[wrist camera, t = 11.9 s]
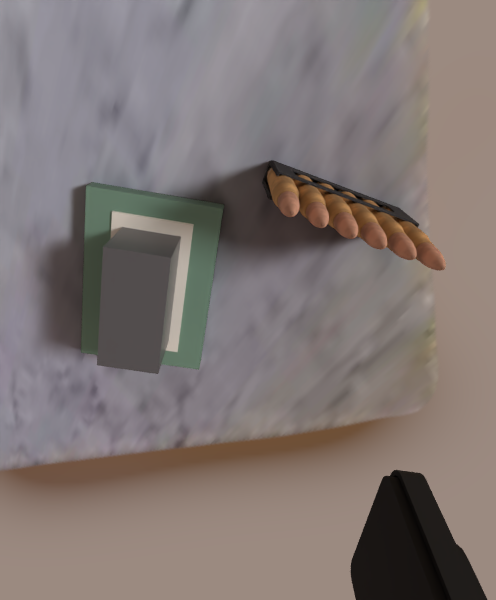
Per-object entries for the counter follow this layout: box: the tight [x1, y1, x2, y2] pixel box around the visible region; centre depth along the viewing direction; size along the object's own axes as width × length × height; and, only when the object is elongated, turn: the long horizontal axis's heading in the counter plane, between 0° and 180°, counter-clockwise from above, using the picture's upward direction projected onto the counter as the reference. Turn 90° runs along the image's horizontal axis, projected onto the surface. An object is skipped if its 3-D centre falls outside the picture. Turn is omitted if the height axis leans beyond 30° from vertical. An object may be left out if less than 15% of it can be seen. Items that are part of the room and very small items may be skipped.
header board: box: [81, 182, 224, 369], centre depth 36 cm, size 14×10×5 cm
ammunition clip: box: [262, 161, 446, 270], centre depth 30 cm, size 11×2×12 cm, turn 70°
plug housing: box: [97, 227, 181, 374], centre depth 34 cm, size 9×4×5 cm, turn 170°
